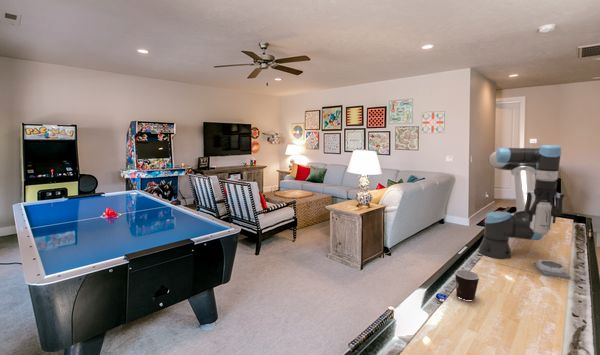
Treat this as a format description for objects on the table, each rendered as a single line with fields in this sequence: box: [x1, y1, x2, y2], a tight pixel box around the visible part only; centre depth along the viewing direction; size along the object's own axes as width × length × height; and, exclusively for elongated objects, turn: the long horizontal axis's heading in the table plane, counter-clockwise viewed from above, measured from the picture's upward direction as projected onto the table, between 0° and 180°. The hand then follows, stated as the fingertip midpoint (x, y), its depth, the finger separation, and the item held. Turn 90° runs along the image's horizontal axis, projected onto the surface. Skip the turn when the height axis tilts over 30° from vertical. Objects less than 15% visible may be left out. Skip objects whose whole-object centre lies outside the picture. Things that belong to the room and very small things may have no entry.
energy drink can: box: [532, 200, 552, 236], centre depth 141 cm, size 6×6×15 cm
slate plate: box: [532, 261, 572, 280], centre depth 149 cm, size 10×14×1 cm
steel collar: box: [536, 259, 568, 274], centre depth 149 cm, size 10×10×2 cm
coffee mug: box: [454, 269, 480, 301], centre depth 124 cm, size 12×9×10 cm
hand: (540, 228), depth 142 cm, fingers closed on energy drink can, 6 cm apart
